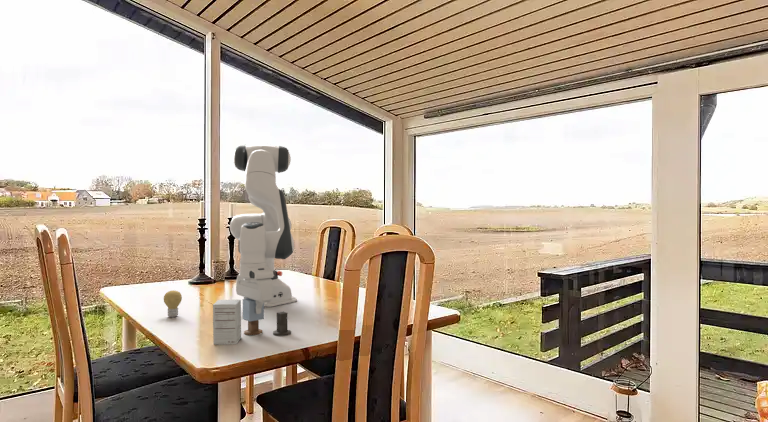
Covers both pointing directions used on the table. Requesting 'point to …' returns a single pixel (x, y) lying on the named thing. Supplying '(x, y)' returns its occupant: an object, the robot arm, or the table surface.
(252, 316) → the cap
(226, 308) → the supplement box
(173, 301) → the light bulb
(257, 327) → the walnut post
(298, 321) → the table surface
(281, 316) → the black post
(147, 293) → the table surface
